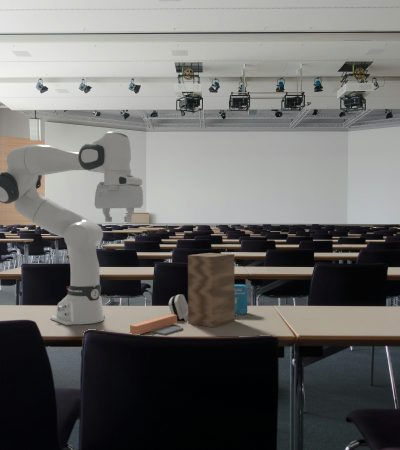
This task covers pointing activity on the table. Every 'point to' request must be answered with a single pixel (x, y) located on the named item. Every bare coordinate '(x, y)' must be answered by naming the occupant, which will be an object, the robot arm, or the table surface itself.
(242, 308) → the data package
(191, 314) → the brown block
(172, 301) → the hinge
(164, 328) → the mat
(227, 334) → the table surface
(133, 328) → the pin
